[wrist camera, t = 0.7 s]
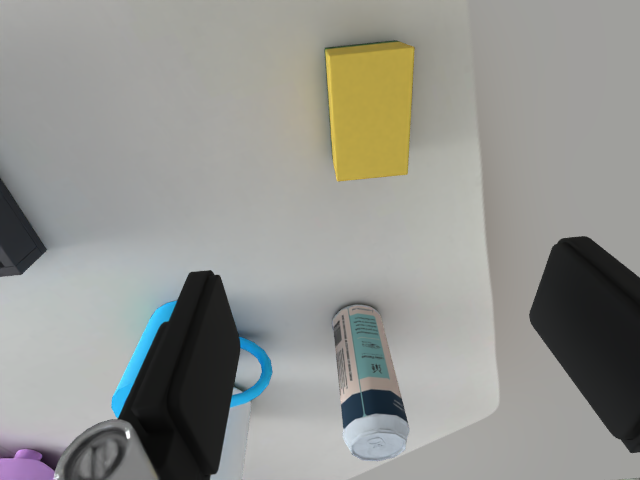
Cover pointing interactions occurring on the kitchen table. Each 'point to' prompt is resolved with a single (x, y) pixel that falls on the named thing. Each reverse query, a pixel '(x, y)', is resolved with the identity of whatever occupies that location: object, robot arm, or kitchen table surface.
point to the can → (234, 442)
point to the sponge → (370, 108)
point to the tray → (16, 238)
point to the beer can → (368, 386)
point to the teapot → (25, 467)
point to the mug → (145, 343)
